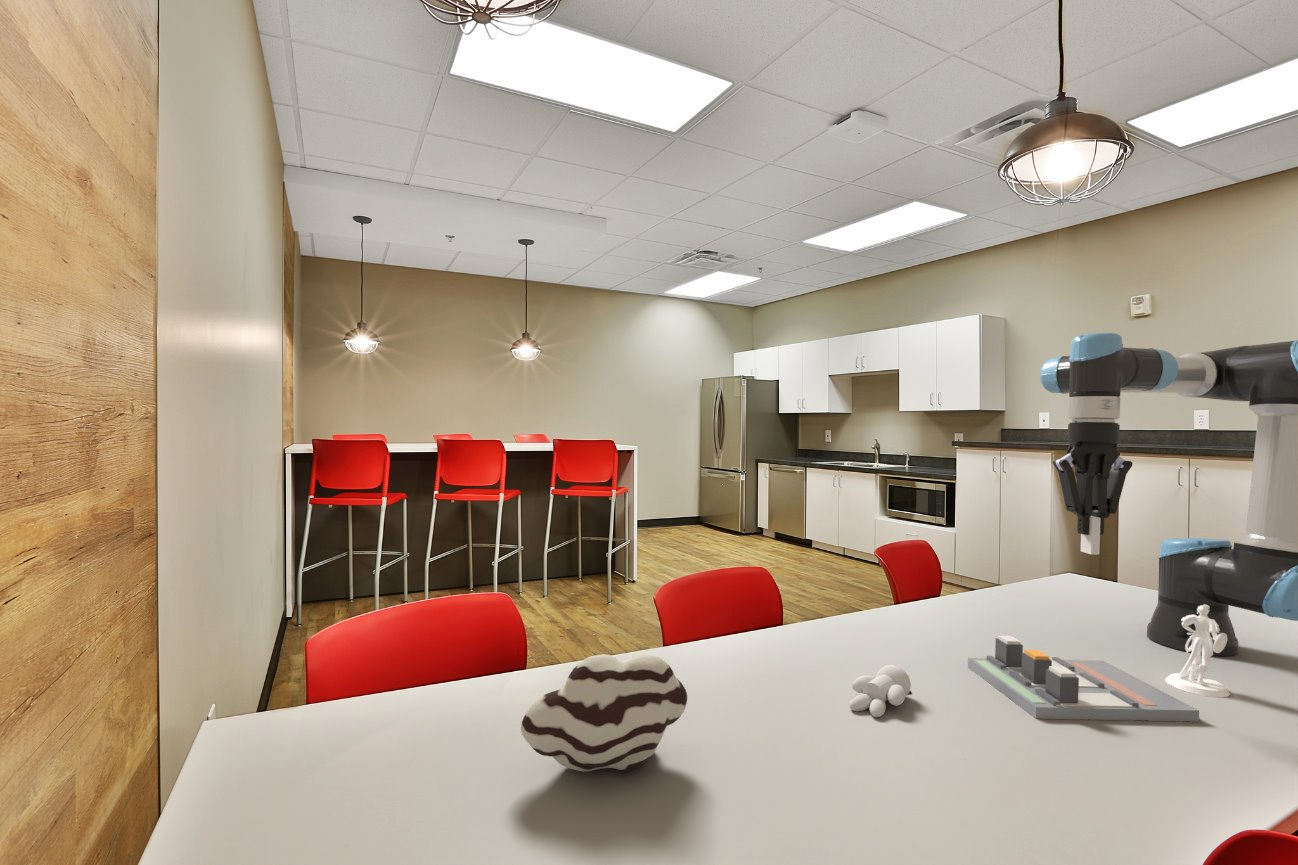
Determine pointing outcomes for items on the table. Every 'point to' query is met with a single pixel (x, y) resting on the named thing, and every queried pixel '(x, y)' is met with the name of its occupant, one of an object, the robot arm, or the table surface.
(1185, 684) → the figurine
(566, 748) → the sculpture
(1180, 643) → the robot arm
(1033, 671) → the breaker mid
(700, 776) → the table surface
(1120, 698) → the panel
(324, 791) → the table surface
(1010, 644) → the breaker left
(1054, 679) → the block
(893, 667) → the toy
